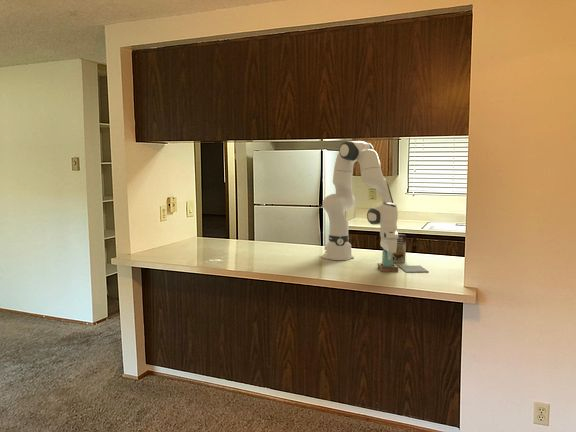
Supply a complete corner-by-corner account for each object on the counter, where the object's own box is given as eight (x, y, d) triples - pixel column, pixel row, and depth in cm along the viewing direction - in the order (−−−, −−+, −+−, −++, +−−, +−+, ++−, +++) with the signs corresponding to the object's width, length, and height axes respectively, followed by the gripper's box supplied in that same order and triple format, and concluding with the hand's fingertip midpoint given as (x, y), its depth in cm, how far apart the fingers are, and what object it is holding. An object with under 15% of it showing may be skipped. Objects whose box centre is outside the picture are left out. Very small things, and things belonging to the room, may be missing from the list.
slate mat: (398, 266, 272) (398, 265, 272) (420, 266, 273) (420, 265, 272) (406, 272, 258) (406, 271, 258) (428, 272, 259) (428, 271, 259)
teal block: (382, 264, 267) (382, 250, 266) (390, 264, 267) (390, 250, 266) (384, 266, 262) (384, 251, 261) (392, 266, 262) (393, 251, 261)
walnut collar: (377, 268, 269) (377, 263, 268) (393, 267, 269) (393, 263, 269) (381, 271, 260) (381, 267, 260) (398, 271, 260) (398, 267, 260)
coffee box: (390, 263, 281) (391, 235, 279) (386, 260, 287) (387, 233, 285) (405, 262, 283) (406, 235, 281) (401, 260, 289) (401, 233, 287)
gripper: (378, 229, 272) (377, 254, 274) (387, 235, 252) (386, 262, 254) (389, 229, 273) (388, 254, 274) (399, 235, 252) (398, 262, 254)
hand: (387, 258), depth 264 cm, fingers closed on teal block, 4 cm apart
